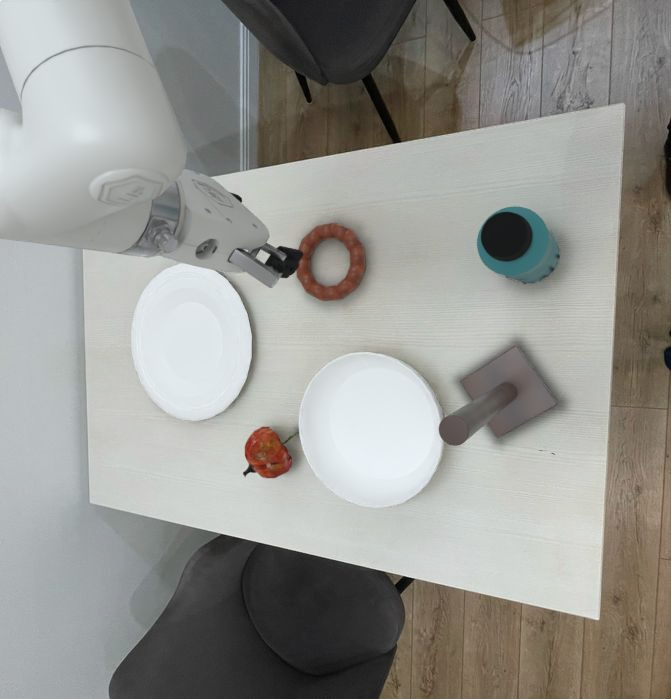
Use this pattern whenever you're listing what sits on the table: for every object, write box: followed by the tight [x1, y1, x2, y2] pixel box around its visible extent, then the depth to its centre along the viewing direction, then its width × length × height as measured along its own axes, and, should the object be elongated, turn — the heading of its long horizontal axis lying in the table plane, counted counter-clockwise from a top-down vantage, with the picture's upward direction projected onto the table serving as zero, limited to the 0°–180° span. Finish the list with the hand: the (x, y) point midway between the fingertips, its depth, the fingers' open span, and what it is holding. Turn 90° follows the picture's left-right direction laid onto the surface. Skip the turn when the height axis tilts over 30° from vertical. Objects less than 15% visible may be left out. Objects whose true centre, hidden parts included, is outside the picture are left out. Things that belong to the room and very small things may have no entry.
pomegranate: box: [242, 426, 299, 479], centre depth 77 cm, size 7×7×10 cm
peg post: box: [439, 344, 559, 447], centre depth 53 cm, size 8×8×25 cm
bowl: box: [298, 351, 446, 509], centre depth 69 cm, size 20×20×6 cm
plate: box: [130, 262, 254, 422], centre depth 86 cm, size 25×25×2 cm
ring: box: [295, 222, 366, 302], centre depth 73 cm, size 10×10×2 cm
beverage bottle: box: [476, 205, 562, 285], centre depth 54 cm, size 6×7×20 cm
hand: (263, 236), depth 56 cm, fingers open, 9 cm apart
